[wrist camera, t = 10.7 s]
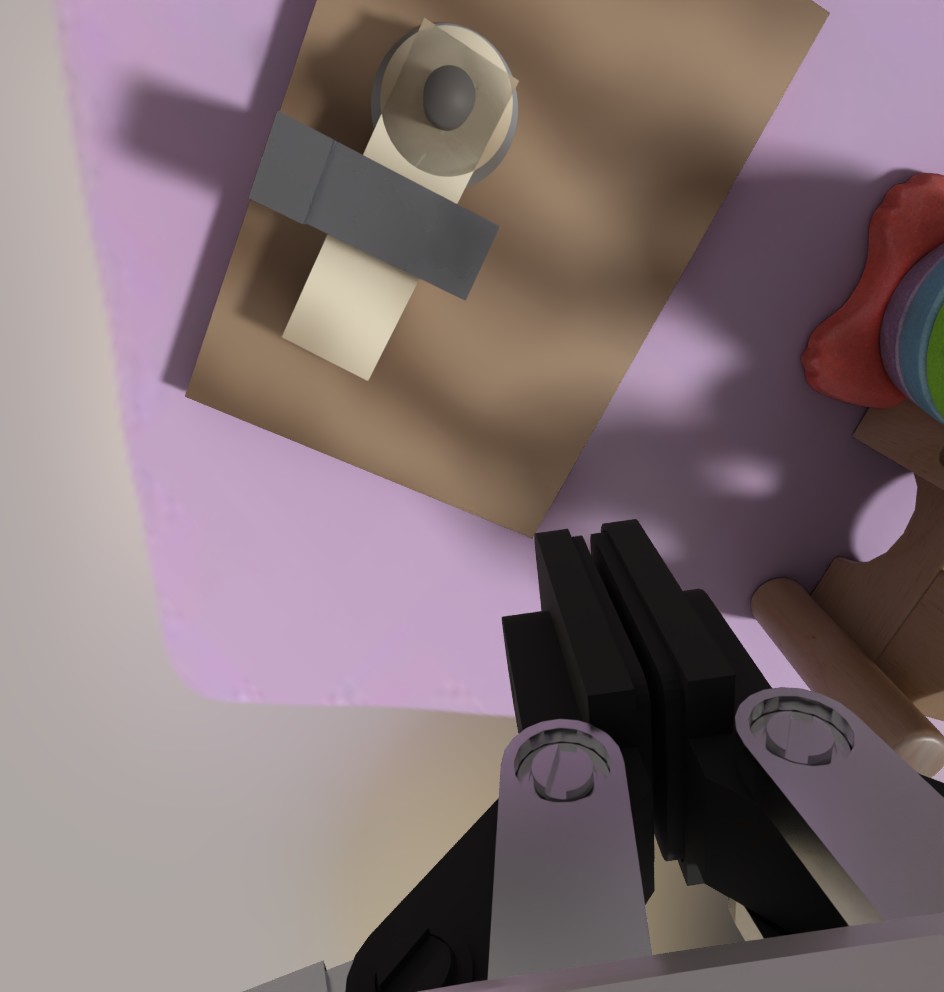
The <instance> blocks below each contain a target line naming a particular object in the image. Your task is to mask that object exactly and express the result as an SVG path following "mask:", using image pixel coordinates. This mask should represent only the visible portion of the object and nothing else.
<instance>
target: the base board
mask: <svg viewBox="0 0 944 992" xmlns="http://www.w3.org/2000/svg"><path fill="white" fill-rule="evenodd" d="M829 14H830V13H829V12H828V11H827V10H825V9H824V8H822V7H821V6H819V5H818V4H816V3H815V2H813V1H812V0H317V1H316V4H315V7H314V10H313V13H312V16H311V19H310V22H309V25H308V28H307V31H306V34H305V37H304V40H303V43H302V46H301V49H300V52H299V55H298V58H297V61H296V64H295V67H294V70H293V73H292V76H291V79H290V82H289V85H288V88H287V91H286V94H285V97H284V100H283V103H282V106H281V109H280V112H282V113H284V114H286V115H287V116H289V117H291V118H293V119H295V120H297V121H299V122H301V123H303V124H305V125H307V126H309V127H311V128H312V129H314V130H316V131H318V132H320V133H322V134H324V135H326V136H328V137H330V138H332V139H334V140H335V141H337V142H339V143H341V144H343V145H345V146H347V147H349V148H350V149H352V150H354V151H356V152H358V153H360V154H362V155H363V154H364V152H365V150H366V147H367V145H368V143H369V141H370V138H371V136H372V134H373V132H374V129H375V127H376V125H377V123H378V120H379V118H380V116H381V114H382V113H381V105H380V94H381V85H382V81H383V76H384V73H385V71H386V68H387V65H388V63H389V61H390V59H391V58H392V56H393V55H394V53H395V52H396V50H397V49H398V48H399V47H400V46H401V45H402V43H403V42H405V41H406V40H407V39H408V38H409V37H411V36H412V35H414V34H416V33H417V32H418V31H419V29H420V26H421V24H422V22H423V20H424V18H426V19H427V20H429V21H430V22H432V23H433V24H435V25H436V26H441V25H449V26H457V27H461V28H464V29H467V30H469V31H472V32H473V33H475V34H477V35H479V36H480V37H481V38H483V39H484V40H485V41H486V42H487V43H488V44H489V45H490V46H491V47H492V48H493V49H494V50H495V51H496V53H497V54H498V55H499V57H500V59H501V60H502V62H503V64H504V66H505V68H506V71H507V73H508V74H510V75H511V76H513V77H514V78H516V79H517V80H519V82H518V84H517V86H516V88H515V90H514V92H513V94H512V96H513V109H512V117H511V123H510V126H509V129H508V132H507V135H506V137H505V139H504V141H503V143H502V145H501V146H500V148H499V149H498V151H497V152H496V153H495V155H494V156H493V157H492V158H491V159H490V160H489V161H488V162H486V163H485V164H484V165H483V166H481V167H480V168H478V169H476V170H474V172H473V174H472V176H471V178H470V180H469V182H468V183H467V185H466V187H465V189H464V191H463V193H462V195H461V197H460V199H459V201H458V203H457V204H458V205H460V206H462V207H464V208H466V209H468V210H470V211H471V212H473V213H475V214H477V215H479V216H481V217H483V218H485V219H487V220H489V221H491V222H493V223H495V224H496V225H498V226H500V228H499V230H498V232H497V234H496V236H495V238H494V241H493V243H492V245H491V247H490V249H489V251H488V254H487V256H486V258H485V260H484V262H483V264H482V267H481V269H480V271H479V273H478V275H477V277H476V280H475V282H474V284H473V286H472V288H471V290H470V293H469V295H468V297H467V299H466V301H465V300H463V299H461V298H459V297H457V296H454V295H452V294H450V293H448V292H446V291H444V290H442V289H440V288H438V287H436V286H434V285H432V284H430V283H428V282H426V281H424V280H422V279H419V281H418V283H417V285H416V287H415V289H414V291H413V293H412V295H411V297H410V299H409V301H408V303H407V305H406V307H405V309H404V311H403V313H402V315H401V317H400V319H399V321H398V323H397V325H396V327H395V329H394V331H393V332H392V334H391V336H390V338H389V340H388V342H387V344H386V346H385V348H384V350H383V352H382V354H381V356H380V358H379V360H378V362H377V364H376V366H375V368H374V370H373V372H372V374H371V376H370V378H369V380H368V381H367V380H365V379H363V378H361V377H359V376H357V375H355V374H353V373H351V372H349V371H347V370H345V369H343V368H341V367H339V366H337V365H335V364H333V363H331V362H329V361H328V360H326V359H324V358H322V357H320V356H318V355H316V354H314V353H312V352H310V351H308V350H306V349H304V348H302V347H300V346H298V345H296V344H294V343H292V342H290V341H288V340H286V339H284V338H282V335H283V333H284V331H285V329H286V326H287V324H288V322H289V320H290V317H291V315H292V313H293V311H294V309H295V306H296V304H297V302H298V300H299V297H300V295H301V293H302V291H303V288H304V286H305V284H306V282H307V279H308V277H309V275H310V273H311V270H312V268H313V266H314V264H315V261H316V259H317V257H318V255H319V253H320V250H321V248H322V246H323V244H324V241H325V239H326V237H327V235H328V234H327V233H325V232H323V231H321V230H319V229H317V228H315V227H313V226H310V225H308V224H301V223H299V222H297V221H295V220H293V219H291V218H289V217H287V216H285V215H283V214H281V213H278V212H276V211H274V210H272V209H270V208H268V207H266V206H264V205H262V204H260V203H258V202H256V201H254V200H252V199H250V202H249V205H248V208H247V211H246V214H245V217H244V220H243V223H242V226H241V229H240V232H239V235H238V238H237V241H236V244H235V247H234V250H233V253H232V256H231V259H230V262H229V265H228V268H227V271H226V274H225V277H224V280H223V283H222V286H221V289H220V292H219V295H218V298H217V301H216V304H215V307H214V310H213V313H212V317H211V320H210V323H209V326H208V329H207V332H206V335H205V338H204V341H203V344H202V347H201V350H200V353H199V356H198V359H197V362H196V365H195V368H194V371H193V374H192V377H191V380H190V383H189V386H188V389H187V392H186V395H185V397H187V398H190V399H192V400H194V401H197V402H199V403H202V404H204V405H207V406H209V407H212V408H214V409H217V410H219V411H221V412H224V413H226V414H229V415H231V416H234V417H236V418H239V419H241V420H243V421H246V422H248V423H251V424H253V425H256V426H258V427H261V428H263V429H265V430H268V431H270V432H273V433H275V434H278V435H280V436H283V437H285V438H288V439H290V440H292V441H295V442H297V443H300V444H302V445H305V446H307V447H310V448H312V449H314V450H317V451H319V452H322V453H324V454H327V455H329V456H332V457H334V458H336V459H339V460H341V461H344V462H346V463H349V464H351V465H354V466H356V467H358V468H361V469H363V470H366V471H368V472H371V473H373V474H376V475H378V476H381V477H383V478H385V479H388V480H390V481H393V482H395V483H398V484H400V485H403V486H405V487H407V488H410V489H412V490H415V491H417V492H420V493H422V494H425V495H427V496H429V497H432V498H434V499H437V500H439V501H442V502H444V503H447V504H449V505H452V506H454V507H456V508H459V509H461V510H464V511H466V512H469V513H471V514H474V515H476V516H478V517H481V518H483V519H486V520H488V521H491V522H493V523H496V524H498V525H500V526H503V527H505V528H508V529H510V530H513V531H515V532H518V533H520V534H523V535H525V536H527V537H530V538H533V536H534V534H535V533H536V531H537V529H538V527H539V526H540V524H541V522H542V520H543V519H544V517H545V515H546V513H547V511H548V510H549V508H550V506H551V504H552V503H553V501H554V499H555V497H556V496H557V494H558V492H559V490H560V489H561V487H562V485H563V483H564V481H565V480H566V478H567V476H568V474H569V473H570V471H571V469H572V467H573V466H574V464H575V462H576V460H577V459H578V457H579V455H580V453H581V451H582V450H583V448H584V446H585V444H586V443H587V441H588V439H589V437H590V436H591V434H592V432H593V430H594V429H595V427H596V425H597V423H598V421H599V420H600V418H601V416H602V414H603V413H604V411H605V409H606V407H607V406H608V404H609V402H610V400H611V399H612V397H613V395H614V393H615V391H616V390H617V388H618V386H619V384H620V383H621V381H622V379H623V377H624V376H625V374H626V372H627V370H628V369H629V367H630V365H631V363H632V361H633V360H634V358H635V356H636V354H637V353H638V351H639V349H640V347H641V346H642V344H643V342H644V340H645V339H646V337H647V335H648V333H649V331H650V330H651V328H652V326H653V324H654V323H655V321H656V319H657V317H658V316H659V314H660V312H661V310H662V309H663V307H664V305H665V303H666V301H667V300H668V298H669V296H670V294H671V293H672V291H673V289H674V287H675V286H676V284H677V282H678V280H679V278H680V277H681V275H682V273H683V271H684V270H685V268H686V266H687V264H688V263H689V261H690V259H691V257H692V256H693V254H694V252H695V250H696V248H697V247H698V245H699V243H700V241H701V240H702V238H703V236H704V234H705V233H706V231H707V229H708V227H709V226H710V224H711V222H712V220H713V218H714V217H715V215H716V213H717V211H718V210H719V208H720V206H721V204H722V203H723V201H724V199H725V197H726V196H727V194H728V192H729V190H730V188H731V187H732V185H733V183H734V181H735V180H736V178H737V176H738V174H739V173H740V171H741V169H742V167H743V166H744V164H745V162H746V160H747V158H748V157H749V155H750V153H751V151H752V150H753V148H754V146H755V144H756V143H757V141H758V139H759V137H760V136H761V134H762V132H763V130H764V128H765V127H766V125H767V123H768V121H769V120H770V118H771V116H772V114H773V113H774V111H775V109H776V107H777V106H778V104H779V102H780V100H781V98H782V97H783V95H784V93H785V91H786V90H787V88H788V86H789V84H790V83H791V81H792V79H793V77H794V76H795V74H796V72H797V70H798V68H799V67H800V65H801V63H802V61H803V60H804V58H805V56H806V54H807V53H808V51H809V49H810V47H811V46H812V44H813V42H814V40H815V38H816V37H817V35H818V33H819V31H820V30H821V28H822V26H823V24H824V23H825V21H826V19H827V17H828V16H829Z"/></svg>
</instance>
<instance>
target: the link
mask: <svg viewBox="0 0 944 992" xmlns="http://www.w3.org/2000/svg"><path fill="white" fill-rule="evenodd" d="M518 82H519V80H517V79H516V78H514V77H513V76H511V75H510V74H508V73H507V71H506V68H505V66H504V64H503V62H502V60H501V59H500V57H499V55H498V54H497V53H496V51H495V50H494V49H493V48H492V47H491V46H490V45H489V44H488V43H487V42H486V41H485V40H484V39H483V38H481V37H480V36H479V35H477V34H475V33H473V32H472V31H469V30H467V29H464V28H461V27H457V26H449V25H441V26H436V25H435V24H433V23H432V22H430V21H429V20H427V19H426V18H424V20H423V22H422V24H421V26H420V29H419V31H418V32H417V33H416V34H414V35H412V36H411V37H409V38H408V39H407V40H406V41H405V42H403V43H402V45H401V46H400V47H399V48H398V49H397V50H396V52H395V53H394V55H393V56H392V58H391V59H390V61H389V63H388V65H387V68H386V71H385V73H384V76H383V81H382V85H381V94H380V105H381V113H382V114H381V116H380V118H379V120H378V123H377V125H376V127H375V129H374V132H373V134H372V136H371V138H370V141H369V143H368V145H367V147H366V150H365V152H364V154H363V155H364V156H366V157H368V158H370V159H372V160H374V161H375V162H377V163H379V164H381V165H383V166H385V167H387V168H389V169H391V170H393V171H395V172H397V173H398V174H400V175H402V176H404V177H406V178H408V179H410V180H412V181H414V182H416V183H418V184H420V185H422V186H423V187H425V188H427V189H429V190H431V191H433V192H435V193H437V194H439V195H441V196H443V197H445V198H447V199H448V200H450V201H452V202H454V203H456V204H457V203H458V201H459V199H460V197H461V195H462V193H463V191H464V189H465V187H466V185H467V183H468V182H469V180H470V178H471V176H472V174H473V172H474V170H476V169H478V168H480V167H481V166H483V165H484V164H485V163H486V162H488V161H489V160H490V159H491V158H492V157H493V156H494V155H495V153H496V152H497V151H498V149H499V148H500V146H501V145H502V143H503V141H504V139H505V137H506V135H507V132H508V129H509V126H510V123H511V117H512V109H513V96H512V94H513V92H514V90H515V88H516V86H517V84H518ZM418 281H419V278H417V277H415V276H413V275H411V274H409V273H407V272H405V271H403V270H401V269H399V268H397V267H395V266H393V265H391V264H389V263H387V262H385V261H382V260H380V259H378V258H376V257H374V256H372V255H370V254H368V253H366V252H364V251H362V250H360V249H358V248H356V247H354V246H352V245H350V244H348V243H345V242H343V241H341V240H339V239H337V238H335V237H333V236H331V235H329V234H328V235H327V237H326V239H325V241H324V244H323V246H322V248H321V250H320V253H319V255H318V257H317V259H316V261H315V264H314V266H313V268H312V270H311V273H310V275H309V277H308V279H307V282H306V284H305V286H304V288H303V291H302V293H301V295H300V297H299V300H298V302H297V304H296V306H295V309H294V311H293V313H292V315H291V317H290V320H289V322H288V324H287V326H286V329H285V331H284V333H283V335H282V338H284V339H286V340H288V341H290V342H292V343H294V344H296V345H298V346H300V347H302V348H304V349H306V350H308V351H310V352H312V353H314V354H316V355H318V356H320V357H322V358H324V359H326V360H328V361H329V362H331V363H333V364H335V365H337V366H339V367H341V368H343V369H345V370H347V371H349V372H351V373H353V374H355V375H357V376H359V377H361V378H363V379H365V380H367V381H368V380H369V378H370V376H371V374H372V372H373V370H374V368H375V366H376V364H377V362H378V360H379V358H380V356H381V354H382V352H383V350H384V348H385V346H386V344H387V342H388V340H389V338H390V336H391V334H392V332H393V331H394V329H395V327H396V325H397V323H398V321H399V319H400V317H401V315H402V313H403V311H404V309H405V307H406V305H407V303H408V301H409V299H410V297H411V295H412V293H413V291H414V289H415V287H416V285H417V283H418Z"/></svg>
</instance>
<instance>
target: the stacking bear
mask: <svg viewBox="0 0 944 992" xmlns="http://www.w3.org/2000/svg"><path fill="white" fill-rule="evenodd" d="M801 361H802V365H803V367H804V368H805V378H806V380H807V382H808V383H809V385H810V386H811V387H812V388H813V389H815V390H816V391H818V392H820V393H822V394H824V395H827V396H829V397H831V398H834V399H837V400H840V401H843V402H846V403H850V404H854V405H859V406H864V407H870V408H881V409H886V408H890V407H893V406H895V405H897V404H898V403H900V402H901V401H902V400H904V399H905V398H906V397H907V398H908V399H909V400H911V401H912V402H913V403H914V404H916V405H917V406H918V407H920V408H921V409H922V410H924V411H925V412H926V413H927V414H929V415H930V416H931V417H933V418H934V419H936V420H937V421H938V422H940V423H942V424H943V425H944V175H940V174H933V173H922V174H917V175H914V176H913V177H911V178H910V179H909V180H908V181H907V182H906V183H904V184H897V185H895V186H894V187H892V188H891V189H890V190H889V191H888V193H887V194H886V195H885V197H884V200H883V202H882V204H881V205H880V206H879V207H878V208H877V209H876V211H875V212H874V214H873V216H872V219H871V223H870V227H869V249H868V257H867V262H866V266H865V269H864V272H863V275H862V277H861V279H860V281H859V283H858V285H857V287H856V288H855V290H854V292H853V293H852V295H851V296H850V298H849V299H848V300H847V302H846V303H845V304H844V305H843V306H842V307H841V308H840V309H839V310H838V311H836V312H835V313H834V314H833V315H831V316H830V317H829V318H827V319H826V320H825V321H823V322H822V323H821V324H820V325H819V326H818V327H817V328H816V329H815V330H814V331H813V332H812V334H811V336H810V338H809V342H808V346H807V348H806V349H805V351H804V352H803V354H802V356H801Z"/></svg>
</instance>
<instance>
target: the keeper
mask: <svg viewBox="0 0 944 992" xmlns="http://www.w3.org/2000/svg"><path fill="white" fill-rule="evenodd" d="M249 198H250V199H252V200H254V201H256V202H258V203H260V204H262V205H264V206H266V207H268V208H270V209H272V210H274V211H276V212H278V213H281V214H283V215H285V216H287V217H289V218H291V219H293V220H295V221H297V222H299V223H301V224H308V225H310V226H313V227H315V228H317V229H319V230H321V231H323V232H325V233H327V234H329V235H331V236H333V237H335V238H337V239H339V240H341V241H343V242H345V243H348V244H350V245H352V246H354V247H356V248H358V249H360V250H362V251H364V252H366V253H368V254H370V255H372V256H374V257H376V258H378V259H380V260H382V261H385V262H387V263H389V264H391V265H393V266H395V267H397V268H399V269H401V270H403V271H405V272H407V273H409V274H411V275H413V276H415V277H417V278H419V279H422V280H424V281H426V282H428V283H430V284H432V285H434V286H436V287H438V288H440V289H442V290H444V291H446V292H448V293H450V294H452V295H454V296H457V297H459V298H461V299H463V300H465V301H466V299H467V297H468V295H469V293H470V290H471V288H472V286H473V284H474V282H475V280H476V277H477V275H478V273H479V271H480V269H481V267H482V264H483V262H484V260H485V258H486V256H487V254H488V251H489V249H490V247H491V245H492V243H493V241H494V238H495V236H496V234H497V232H498V230H499V228H500V226H498V225H496V224H495V223H493V222H491V221H489V220H487V219H485V218H483V217H481V216H479V215H477V214H475V213H473V212H471V211H470V210H468V209H466V208H464V207H462V206H460V205H458V204H456V203H454V202H452V201H450V200H448V199H447V198H445V197H443V196H441V195H439V194H437V193H435V192H433V191H431V190H429V189H427V188H425V187H423V186H422V185H420V184H418V183H416V182H414V181H412V180H410V179H408V178H406V177H404V176H402V175H400V174H398V173H397V172H395V171H393V170H391V169H389V168H387V167H385V166H383V165H381V164H379V163H377V162H375V161H374V160H372V159H370V158H368V157H366V156H364V155H362V154H360V153H358V152H356V151H354V150H352V149H350V148H349V147H347V146H345V145H343V144H341V143H339V142H337V141H335V140H334V139H332V138H330V137H328V136H326V135H324V134H322V133H320V132H318V131H316V130H314V129H312V128H311V127H309V126H307V125H305V124H303V123H301V122H299V121H297V120H295V119H293V118H291V117H289V116H287V115H286V114H284V113H282V112H280V111H278V110H277V113H276V116H275V119H274V122H273V125H272V128H271V131H270V134H269V137H268V140H267V143H266V146H265V149H264V152H263V155H262V158H261V161H260V164H259V167H258V170H257V173H256V176H255V179H254V182H253V185H252V189H251V192H250V195H249Z"/></svg>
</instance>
